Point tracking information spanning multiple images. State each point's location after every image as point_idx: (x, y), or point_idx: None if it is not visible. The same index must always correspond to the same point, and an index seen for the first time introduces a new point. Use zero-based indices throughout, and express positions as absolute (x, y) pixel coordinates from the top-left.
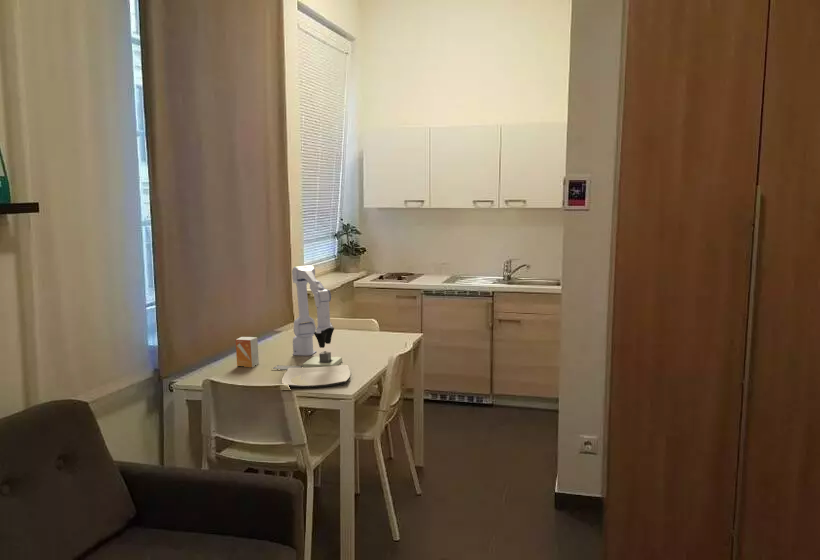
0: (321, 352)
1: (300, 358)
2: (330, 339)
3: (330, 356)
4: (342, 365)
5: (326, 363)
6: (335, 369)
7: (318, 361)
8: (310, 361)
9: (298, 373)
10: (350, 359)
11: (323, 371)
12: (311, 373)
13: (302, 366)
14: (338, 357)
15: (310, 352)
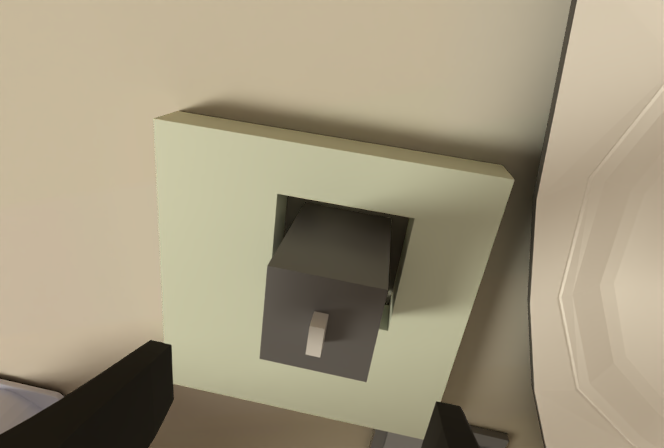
0: (302, 366)
1: None
2: (119, 390)
3: (298, 242)
4: (583, 23)
5: (436, 247)
6: (644, 106)
7: None
8: (342, 392)
9: (659, 431)
10: (89, 29)
11: (620, 235)
12: (659, 333)
13: None
14: (174, 158)
15: (22, 408)
